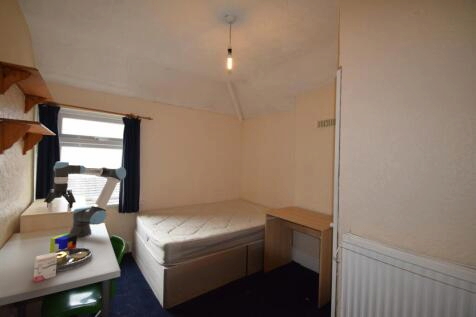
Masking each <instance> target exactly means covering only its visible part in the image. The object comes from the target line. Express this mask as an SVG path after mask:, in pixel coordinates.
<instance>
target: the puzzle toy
mask: <svg viewBox="0 0 476 317" xmlns="http://www.w3.org/2000/svg"><path fill="white" fill-rule="evenodd" d="M77 238H78V237H77V235H74V234H69V233H62V234H60V235H56V236H54V237H51V238H50V246H49V253H53V252H57V251H60V250H65V249H71V248H77Z"/></svg>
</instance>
